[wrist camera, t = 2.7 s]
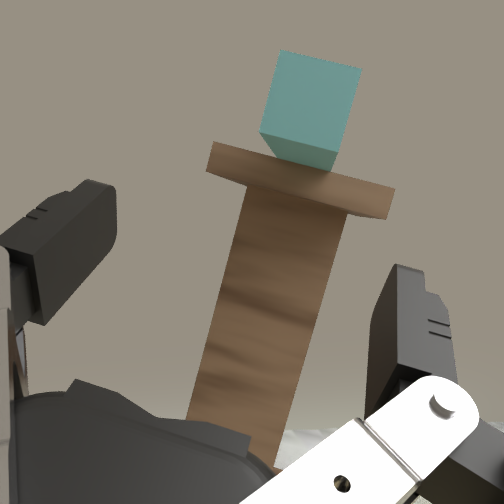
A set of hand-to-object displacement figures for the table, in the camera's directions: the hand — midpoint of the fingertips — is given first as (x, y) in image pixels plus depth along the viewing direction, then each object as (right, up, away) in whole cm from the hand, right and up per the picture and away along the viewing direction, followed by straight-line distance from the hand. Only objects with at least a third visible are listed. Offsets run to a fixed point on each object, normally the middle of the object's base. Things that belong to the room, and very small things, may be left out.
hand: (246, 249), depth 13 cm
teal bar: (+4, +6, +20) cm, 21 cm away
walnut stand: (-4, -24, +30) cm, 39 cm away
